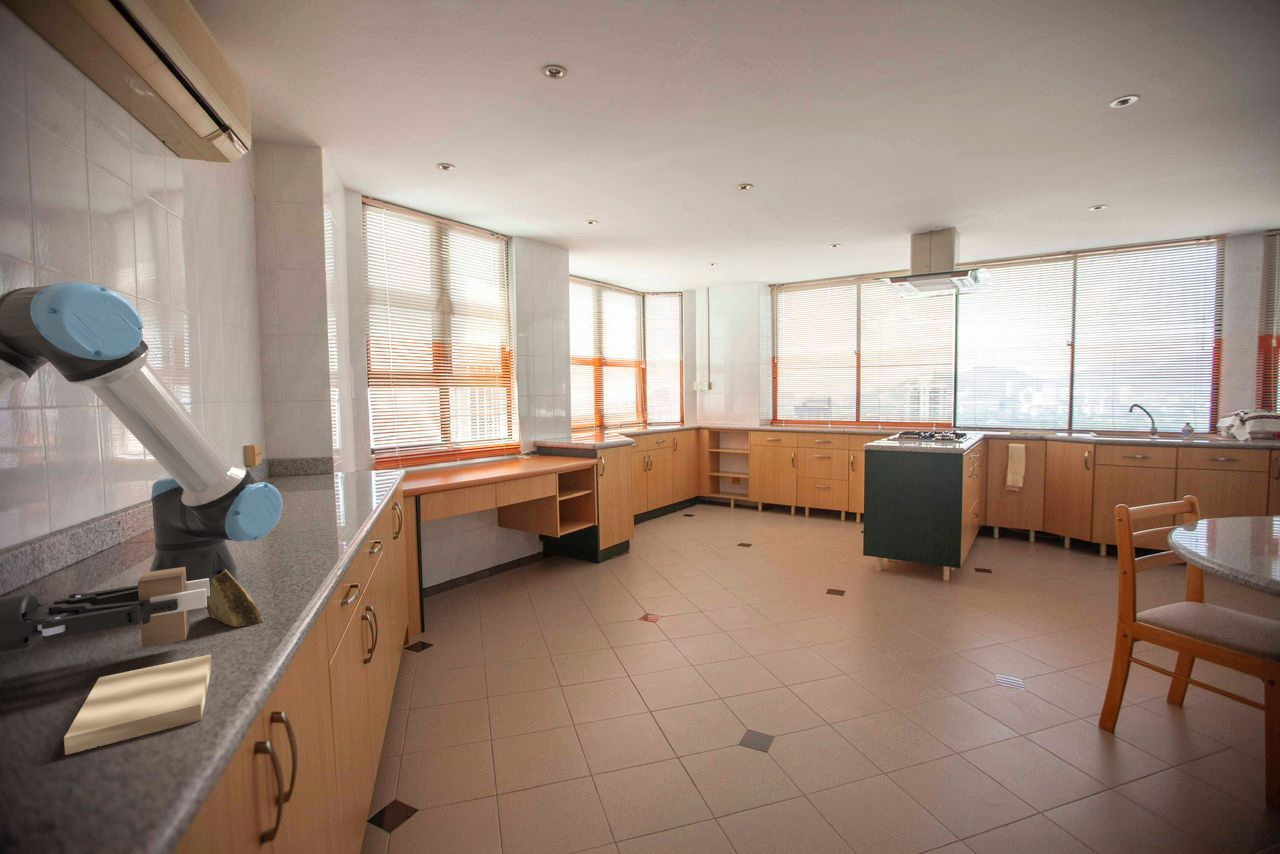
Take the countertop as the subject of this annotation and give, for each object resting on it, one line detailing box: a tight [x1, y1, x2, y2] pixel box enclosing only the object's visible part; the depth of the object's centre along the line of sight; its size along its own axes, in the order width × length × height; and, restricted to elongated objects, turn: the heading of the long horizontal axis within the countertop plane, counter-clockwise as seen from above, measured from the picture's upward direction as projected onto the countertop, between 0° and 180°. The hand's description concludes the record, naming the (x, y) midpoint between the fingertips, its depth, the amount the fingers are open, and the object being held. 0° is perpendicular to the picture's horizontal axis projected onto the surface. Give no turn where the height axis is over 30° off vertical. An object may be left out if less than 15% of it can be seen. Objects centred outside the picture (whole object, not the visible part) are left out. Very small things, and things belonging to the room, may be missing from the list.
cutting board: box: [63, 653, 213, 756], centre depth 73 cm, size 16×12×2 cm
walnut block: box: [137, 567, 190, 649], centre depth 87 cm, size 5×5×10 cm
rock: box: [205, 569, 265, 628], centre depth 101 cm, size 11×9×10 cm
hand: (207, 592), depth 89 cm, fingers closed on walnut block, 5 cm apart
